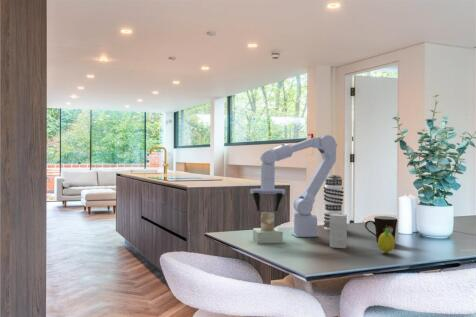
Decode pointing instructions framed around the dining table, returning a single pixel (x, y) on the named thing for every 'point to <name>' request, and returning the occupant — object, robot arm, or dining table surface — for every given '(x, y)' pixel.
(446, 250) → the dining table surface
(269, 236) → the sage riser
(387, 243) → the lemon
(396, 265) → the dining table surface
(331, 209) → the decorative candle
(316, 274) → the dining table surface
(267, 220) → the maple block
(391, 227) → the coffee mug
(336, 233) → the skincare box
